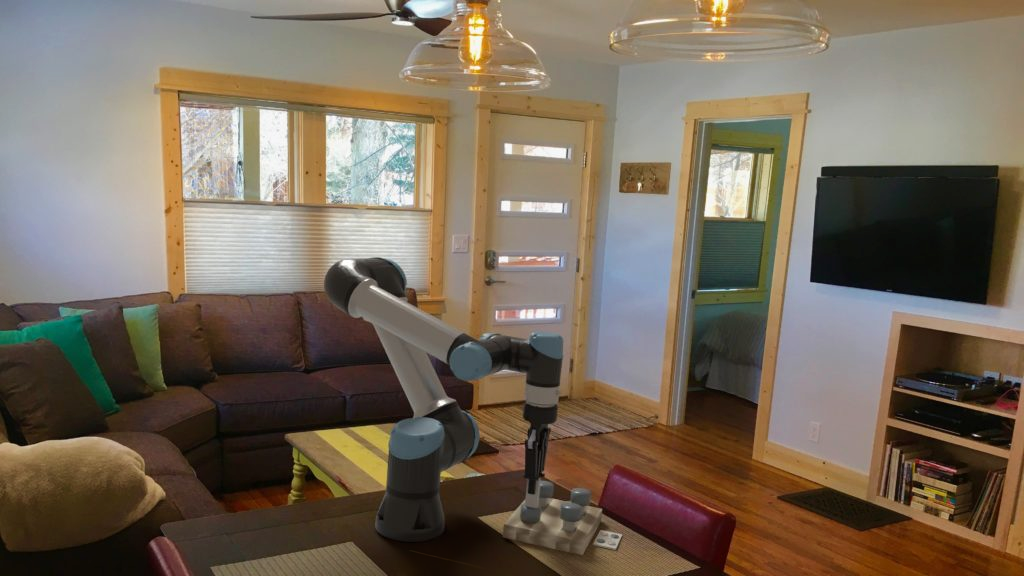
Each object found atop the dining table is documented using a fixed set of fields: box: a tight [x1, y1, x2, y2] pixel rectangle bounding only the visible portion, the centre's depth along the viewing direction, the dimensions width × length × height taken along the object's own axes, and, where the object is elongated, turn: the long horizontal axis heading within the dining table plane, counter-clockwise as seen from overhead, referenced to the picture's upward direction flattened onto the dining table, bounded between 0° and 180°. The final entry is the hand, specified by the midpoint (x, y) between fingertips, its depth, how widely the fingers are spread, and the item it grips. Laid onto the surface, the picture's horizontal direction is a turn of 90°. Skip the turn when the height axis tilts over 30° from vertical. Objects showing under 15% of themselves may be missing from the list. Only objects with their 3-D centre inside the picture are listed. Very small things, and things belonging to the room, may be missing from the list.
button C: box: [560, 503, 582, 532], centre depth 165 cm, size 5×5×6 cm
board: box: [502, 497, 603, 556], centre depth 171 cm, size 18×20×3 cm
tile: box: [592, 529, 623, 551], centre depth 167 cm, size 5×8×1 cm, turn 162°
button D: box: [569, 487, 592, 516], centre depth 174 cm, size 5×5×6 cm
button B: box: [538, 480, 555, 508], centre depth 177 cm, size 5×5×6 cm
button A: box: [520, 503, 541, 524], centre depth 167 cm, size 5×5×6 cm
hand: (531, 506), depth 167 cm, fingers closed
